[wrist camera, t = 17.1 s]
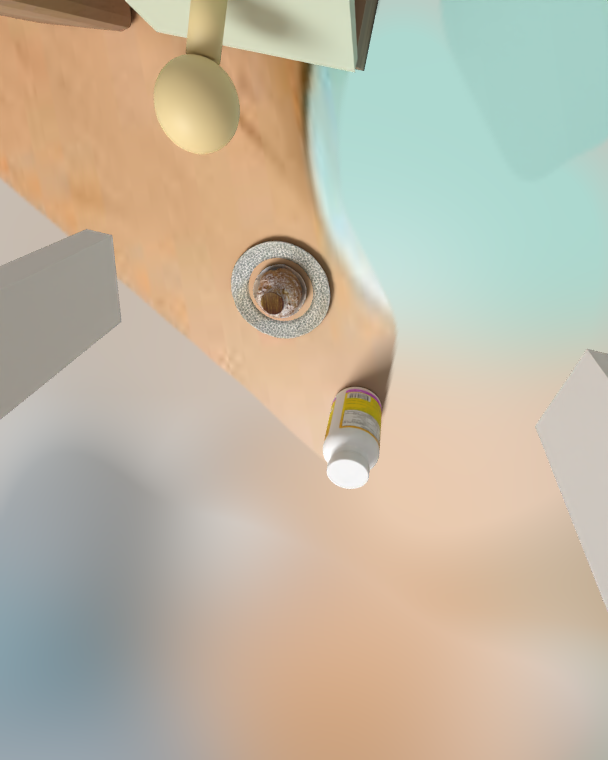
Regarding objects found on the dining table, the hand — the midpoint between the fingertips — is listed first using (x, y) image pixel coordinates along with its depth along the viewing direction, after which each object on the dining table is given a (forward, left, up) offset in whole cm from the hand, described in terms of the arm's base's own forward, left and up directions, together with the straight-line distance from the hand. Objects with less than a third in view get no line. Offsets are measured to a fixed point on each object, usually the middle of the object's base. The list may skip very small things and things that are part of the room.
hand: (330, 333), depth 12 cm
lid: (+8, -11, -20) cm, 24 cm away
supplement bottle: (+3, +29, -35) cm, 45 cm away
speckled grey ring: (+12, +13, -35) cm, 39 cm away
